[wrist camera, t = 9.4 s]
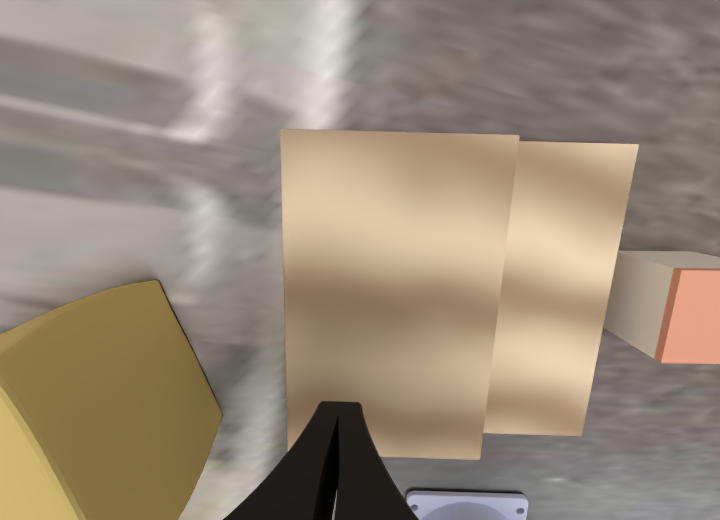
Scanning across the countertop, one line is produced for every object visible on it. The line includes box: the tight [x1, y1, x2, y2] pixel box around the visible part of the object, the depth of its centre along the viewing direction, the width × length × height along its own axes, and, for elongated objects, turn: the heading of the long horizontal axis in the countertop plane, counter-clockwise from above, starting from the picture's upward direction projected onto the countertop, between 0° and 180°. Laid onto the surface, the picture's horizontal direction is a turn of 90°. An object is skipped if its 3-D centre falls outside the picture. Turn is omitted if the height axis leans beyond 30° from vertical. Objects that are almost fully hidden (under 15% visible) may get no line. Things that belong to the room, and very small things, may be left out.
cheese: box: [0, 280, 222, 520], centre depth 17 cm, size 10×11×10 cm
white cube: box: [603, 251, 720, 364], centre depth 18 cm, size 4×4×4 cm
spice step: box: [280, 129, 639, 460], centre depth 18 cm, size 16×16×4 cm
